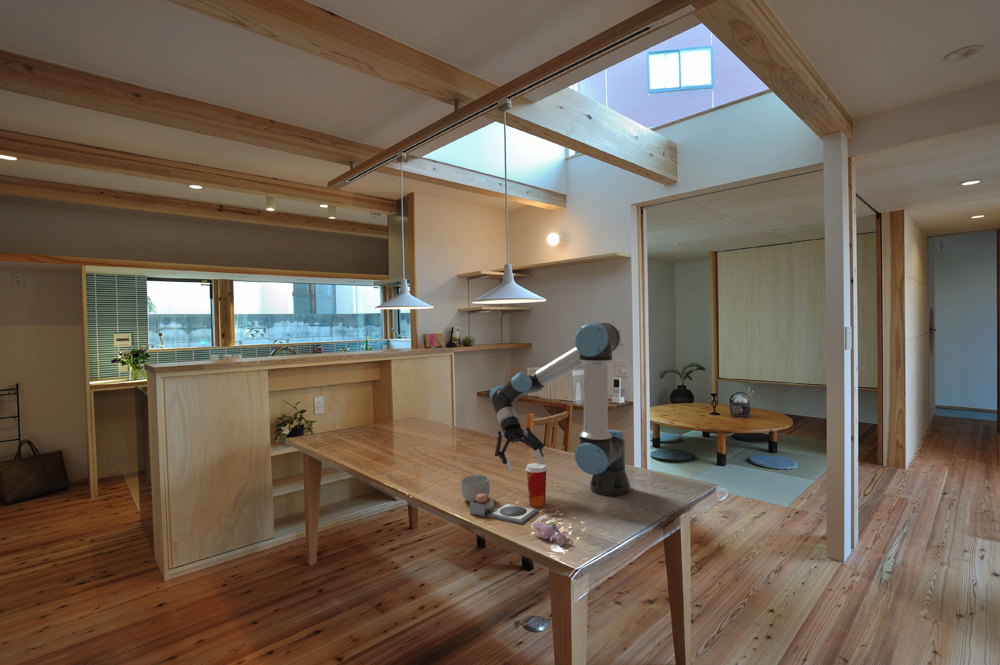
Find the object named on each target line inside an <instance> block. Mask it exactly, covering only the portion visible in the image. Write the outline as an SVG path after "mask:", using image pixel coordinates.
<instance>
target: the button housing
mask: <svg viewBox="0 0 1000 665" xmlns="http://www.w3.org/2000/svg"><path fill="white" fill-rule="evenodd" d="M494 501H495V500H494V499H492V498H488V497H487V503H485V504H480V503H476V499H475V500H473V501H471V502H469V515H473V514H474V516H477V515H479V516H478V517H481V518H482V517H483V518H485V516H486V517H488V514H490V513H491V512H493V511H494V510H495V502H494Z"/></svg>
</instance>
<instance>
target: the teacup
mask: <svg viewBox="0 0 1000 665" xmlns="http://www.w3.org/2000/svg"><path fill="white" fill-rule="evenodd" d="M459 482H460V487H461V495H462V497H463V498H464V500H466V501H467V502H469V503H470V502H471V501H473V500H475V499H476V495H477V494H480V493H484V494H487V498H488V497H489V495H490V494H491V486H490V484H491V483H490V477H489V476H488V475H485V474H478V473H474V474H473V475H467V476H465V477H462V478H461V480H459Z"/></svg>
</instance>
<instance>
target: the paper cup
mask: <svg viewBox="0 0 1000 665" xmlns="http://www.w3.org/2000/svg"><path fill="white" fill-rule="evenodd" d="M525 471H526V478H527V492H528V500H529V506H530V507H531V508H532V507H533V508H542V506H543V507H545V505H546V489H547V486H546V484H547V471H548V468H547V466H546V463H545V464H539V462H532V463H528V464H527V465H526V468H525Z"/></svg>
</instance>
